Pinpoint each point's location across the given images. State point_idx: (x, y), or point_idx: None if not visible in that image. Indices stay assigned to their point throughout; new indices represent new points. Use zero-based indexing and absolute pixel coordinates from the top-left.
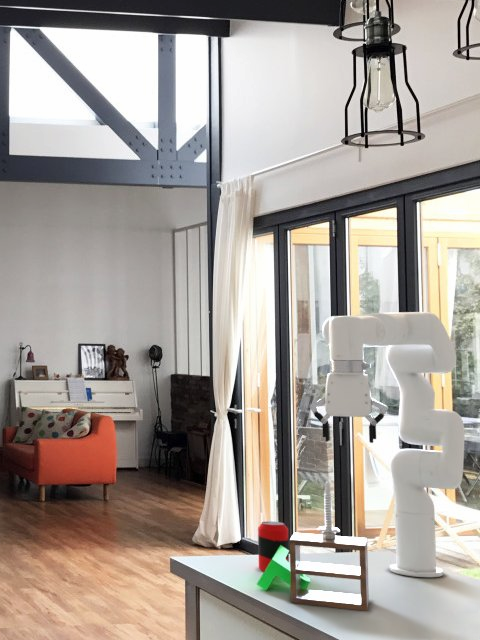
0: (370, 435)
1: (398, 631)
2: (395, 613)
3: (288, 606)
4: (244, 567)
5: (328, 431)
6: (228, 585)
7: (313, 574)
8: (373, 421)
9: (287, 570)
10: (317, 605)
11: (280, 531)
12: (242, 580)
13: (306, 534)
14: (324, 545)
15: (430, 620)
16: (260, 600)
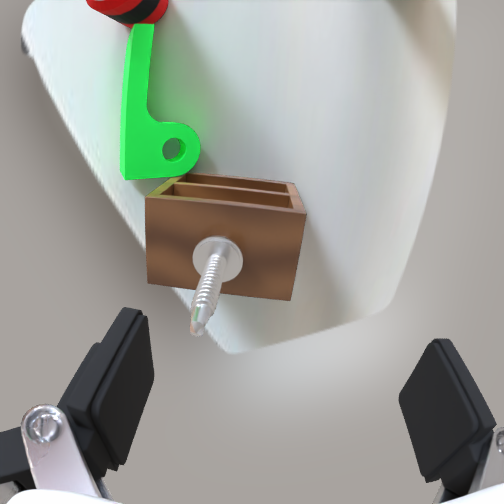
0: (412, 430)
1: (307, 332)
2: (322, 249)
3: None
4: None
5: (136, 426)
6: (85, 156)
7: None
8: (460, 492)
9: (156, 177)
10: None
11: (125, 2)
12: (98, 109)
13: (171, 211)
14: None
15: (359, 272)
16: (137, 235)
